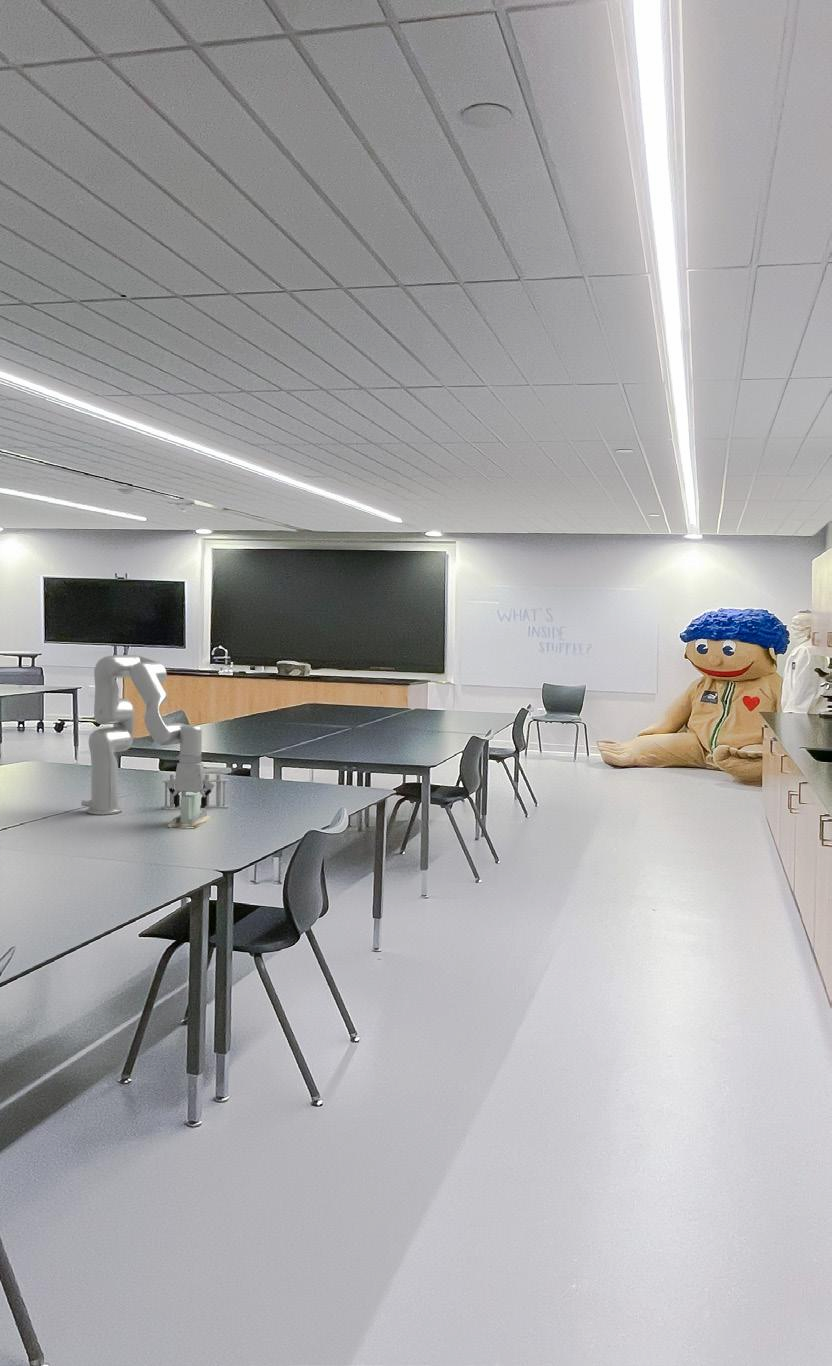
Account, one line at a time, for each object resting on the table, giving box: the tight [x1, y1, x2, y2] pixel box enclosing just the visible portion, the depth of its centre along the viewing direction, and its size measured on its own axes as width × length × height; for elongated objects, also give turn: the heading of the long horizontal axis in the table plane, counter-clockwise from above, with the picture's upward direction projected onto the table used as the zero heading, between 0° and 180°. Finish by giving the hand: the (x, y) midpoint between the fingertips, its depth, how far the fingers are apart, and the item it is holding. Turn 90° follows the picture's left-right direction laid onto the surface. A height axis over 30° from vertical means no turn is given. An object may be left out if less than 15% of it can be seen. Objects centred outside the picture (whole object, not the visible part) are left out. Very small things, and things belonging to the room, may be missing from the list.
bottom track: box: [167, 810, 212, 829], centre depth 355 cm, size 10×18×3 cm, turn 174°
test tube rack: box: [161, 773, 229, 810], centre depth 385 cm, size 25×4×13 cm, turn 100°
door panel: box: [179, 792, 201, 824], centre depth 355 cm, size 3×12×9 cm, turn 173°
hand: (190, 807), depth 355 cm, fingers open, 9 cm apart
